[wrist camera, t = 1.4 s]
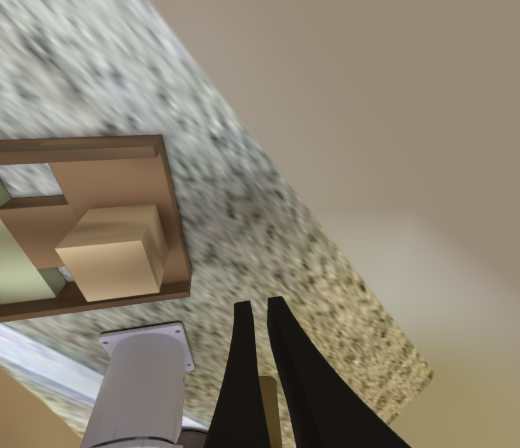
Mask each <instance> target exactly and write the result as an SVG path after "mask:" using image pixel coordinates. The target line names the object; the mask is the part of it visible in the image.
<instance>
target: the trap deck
mask: <svg viewBox="0 0 520 448" xmlns="http://www.w3.org/2000/svg"><path fill="white" fill-rule="evenodd" d="M33 163H48V164H49V166H50V168H51V170H52V172H53V174H54V176H55V178H56V180H57V182H58V184H59V186H60V188H61V190H62V192H63V194H64V195H59V196H44V197H29V198H14V199H12V198H11V197H10V195H9V194H8V192H7V191H6V189H5V188H4V186H3V185H2V183H1V182H0V323H1V322H9V321H16V320H23V319H31V318H38V317H45V316H53V315H60V314H67V313H75V312H82V311H89V310H97V309H104V308H111V307H119V306H126V305H133V304H141V303H148V302H155V301H163V300H170V299H177V298H185V297H190V287H191V276H192V272H191V267H190V263H189V258H188V253H187V249H186V244H185V239H184V235H183V230H182V226H181V221H180V216H179V212H178V207H177V202H176V198H175V193H174V189H173V184H172V179H171V175H170V170H169V165H168V161H167V156H166V152H165V147H164V142H163V138H162V135H139V136H109V137H79V138H48V139H18V140H0V165H12V164H33ZM149 204H156V206H157V210H158V214H159V217H160V221H161V225H162V228H163V232H164V236H165V239H166V243H167V247H168V250H169V251H168V256H167V260H166V265H165V269H164V273H163V278H162V282H161V287H160V291H159V293H151V294H143V295H136V296H128V297H120V298H113V299H105V300H98V301H90V302H87V300H86V298H85V297H84V295H83V294H82V292H81V290H80V289H79V287H78V285H77V284H76V282H70V283H66V281H65V280H64V278H63V277H62V275H61V274H60V272H59V271H58V269H57V268H56V267H62V266H65V264H64V263H63V261H62V260H61V258H60V256H59V255H58V253H57V252H56V250H55V248H56V247H57V246H58V245H59V244H60V242H61V241H62V240H63V239H64V238H65V237H66V235H67V234H68V233H69V232H70V231H71V230H72V229H73V227H74V226H75V225H76V224H77V223H78V222H79V220H80V219H81V218H82V217H83V216H84V215H85V213H86V212H87V211H88V210H89V209H96V208H109V207H123V206H136V205H149Z"/></svg>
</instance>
